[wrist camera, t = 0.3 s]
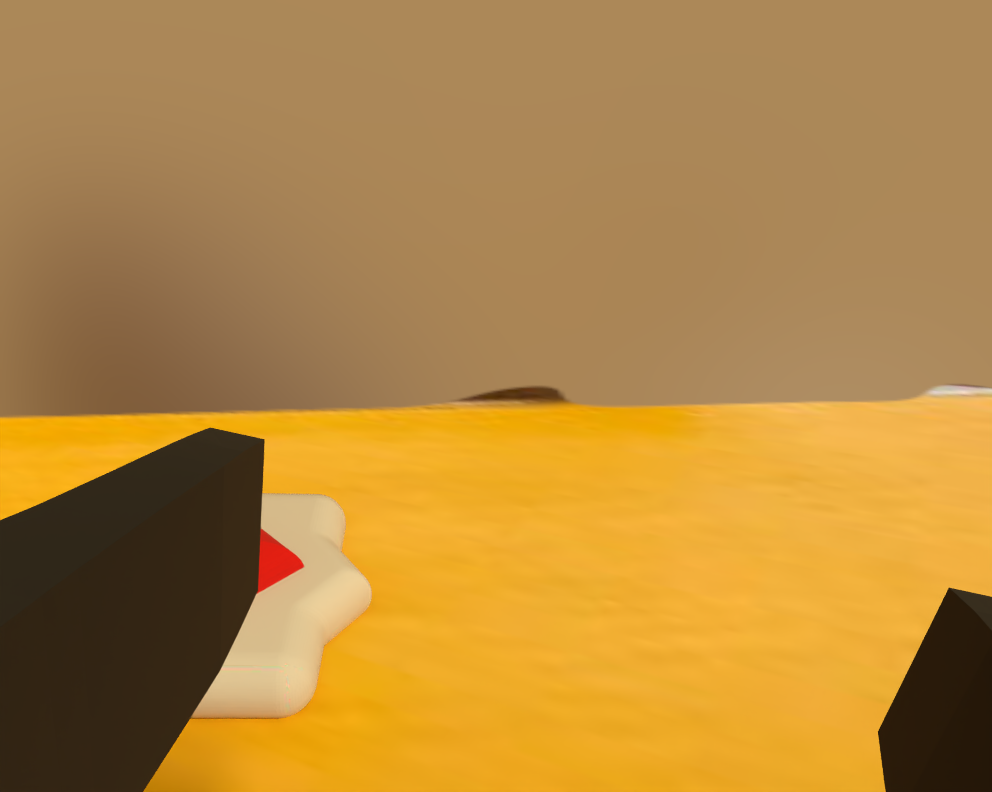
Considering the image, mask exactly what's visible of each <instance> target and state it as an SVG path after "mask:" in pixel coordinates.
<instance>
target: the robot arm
mask: <svg viewBox="0 0 992 792" xmlns="http://www.w3.org/2000/svg"><path fill="white" fill-rule="evenodd" d="M264 440H265V439H260V438H256V437H251V436H246V435H242V434H237V433H233V432H228V431H223V430H219V429H214V428H208V429H205V430H203V431H200V432H197V433H195V434H192V435H190V436H187V437H185V438H183V439H181V440H178V441H176V442H174V443H172V444H169V445H167V446H165V447H163V448H161V449H158V450H156V451H154V452H152V453H150V454H148V455H145V456H143V457H141V458H139V459H137V460H135V461H133V462H130V463H128V464H126V465H124V466H122V467H120V468H118V469H115V470H113V471H111V472H109V473H107V474H105V475H102V476H100V477H98V478H96V479H94V480H91V481H89V482H87V483H85V484H83V485H80V486H78V487H76V488H74V489H72V490H69V491H67V492H65V493H63V494H61V495H58V496H56V497H54V498H52V499H50V500H47V501H45V502H43V503H41V504H38V505H36V506H34V507H31V508H29V509H27V510H24V511H22V512H19V513H17V514H14V515H12V516H9V517H7V518H5V519H2V520H0V792H143V791H144V789H145V788H146V786H147V785H148V783H149V781H150V780H151V778H152V777H153V775H154V774H155V772H156V771H157V769H158V768H159V766H160V764H161V763H162V761H163V760H164V758H165V757H166V755H167V754H168V752H169V751H170V749H171V747H172V746H173V744H174V743H175V741H176V740H177V738H178V737H179V735H180V733H181V732H182V730H183V729H184V727H185V726H186V724H187V722H188V721H189V719H190V718H191V716H192V715H193V713H194V711H195V710H196V708H197V707H198V705H199V704H200V702H201V700H202V699H203V697H204V696H205V694H206V693H207V691H208V689H209V688H210V686H211V685H212V683H213V681H214V680H215V678H216V677H217V675H218V673H219V672H220V670H221V668H222V666H223V664H224V662H225V660H226V658H227V656H228V654H229V652H230V650H231V648H232V645H233V643H234V641H235V639H236V637H237V635H238V633H239V631H240V629H241V627H242V624H243V622H244V620H245V618H246V616H247V614H248V611H249V609H250V607H251V605H252V603H253V601H254V598H255V596H256V594H257V592H258V583H259V559H260V535H261V511H262V488H263V464H264ZM878 736H879V744H880V751H881V759H882V767H883V775H884V783H885V789H886V792H992V597H990V596H985V595H980V594H976V593H971V592H967V591H962V590H957V589H953V588H949V589H948V591H947V593H946V595H945V597H944V599H943V601H942V603H941V605H940V607H939V609H938V611H937V613H936V615H935V617H934V619H933V621H932V623H931V625H930V627H929V629H928V631H927V633H926V635H925V637H924V639H923V641H922V644H921V646H920V648H919V650H918V652H917V654H916V656H915V658H914V660H913V662H912V664H911V666H910V668H909V670H908V672H907V674H906V676H905V678H904V680H903V682H902V684H901V686H900V688H899V690H898V692H897V694H896V696H895V698H894V700H893V702H892V704H891V706H890V708H889V710H888V712H887V715H886V717H885V719H884V721H883V723H882V725H881V727H880V729H879V731H878Z"/></svg>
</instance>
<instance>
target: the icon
mask: <svg viewBox="0 0 992 792" xmlns="http://www.w3.org/2000/svg"><path fill="white" fill-rule="evenodd" d="M345 528H346V521H345V515H344V512H343V510H342V508H341V507H340V505H339V504H338V503H337V502H336V501H335V500H333V499H332V498H330V497H328V496H325V495H320V494H264V493H262V511H261V535H260V559H259V583H258V592H257V594H256V596H255V598H254V601H253V603H252V605H251V607H250V609H249V611H248V614H247V616H246V618H245V620H244V622H243V624H242V627H241V629H240V631H239V633H238V635H237V637H236V639H235V641H234V643H233V645H232V648H231V650H230V652H229V654H228V656H227V658H226V660H225V662H224V664H223V666H222V668H221V670H220V672H219V673H218V675H217V677H216V678H215V680H214V681H213V683H212V685H211V686H210V688H209V689H208V691H207V693H206V694H205V696H204V697H203V699H202V700H201V702H200V704H199V705H198V707H197V708H196V710H195V711H194V713H193V715H192V716H191V718H284V717H288V716H291V715H293V714H295V713H297V712H299V711H300V710H302V709H303V708H304V707H305V706H306V705H307V704H308V703H309V701H310V700H311V698H312V696H313V694H314V692H315V689H316V686H317V681H318V675H319V670H320V664H321V659H322V653H323V648H324V646H325V645H326V644H327V643H328V642H329V641H330V640H332V639H333V638H334V637H335V636H336V635H338V634H339V633H340V632H341V631H342V630H343V629H345V628H346V627H347V626H348V625H349V624H350V623H352V622H353V621H354V620H355V619H356V618H358V617H359V616H360V615H361V614H362V613H363V612H364V611H365V610H366V609H367V608H368V606H369V604H370V602H371V597H372V592H371V587H370V584H369V582H368V580H367V579H366V578H365V577H364V576H363V574H362V573H361V572H360V571H359V570H358V569H357V568H356V567H355V566H354V565H353V564H352V563H351V562H350V560H349V559H348V558H347V557H346V556H345V555H344V554H343V553H342V552H341V550H342V545H343V539H344V534H345Z"/></svg>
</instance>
